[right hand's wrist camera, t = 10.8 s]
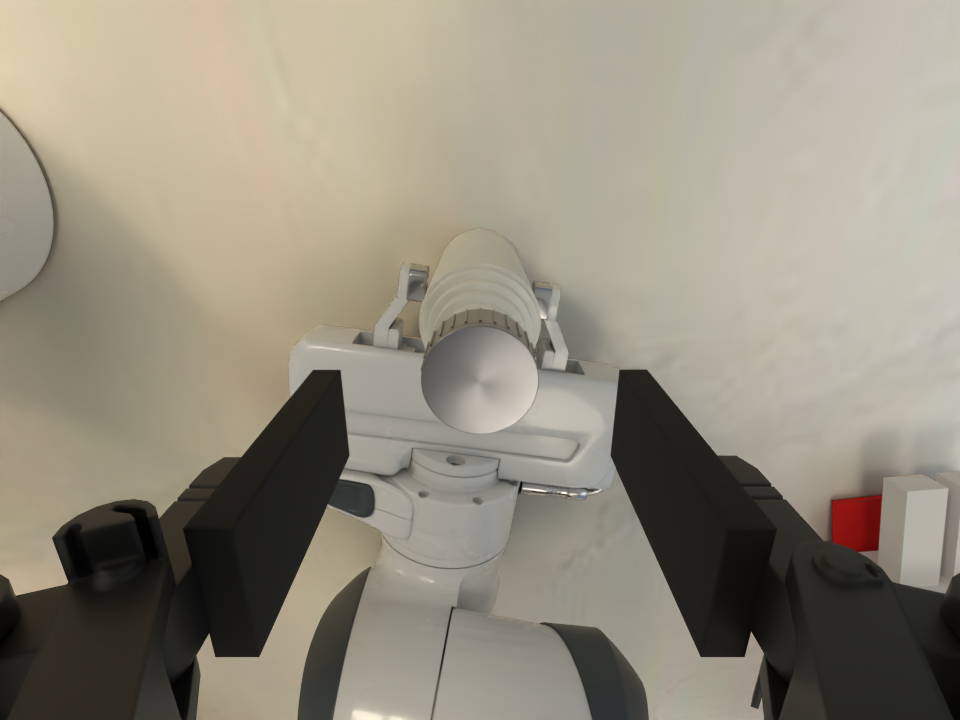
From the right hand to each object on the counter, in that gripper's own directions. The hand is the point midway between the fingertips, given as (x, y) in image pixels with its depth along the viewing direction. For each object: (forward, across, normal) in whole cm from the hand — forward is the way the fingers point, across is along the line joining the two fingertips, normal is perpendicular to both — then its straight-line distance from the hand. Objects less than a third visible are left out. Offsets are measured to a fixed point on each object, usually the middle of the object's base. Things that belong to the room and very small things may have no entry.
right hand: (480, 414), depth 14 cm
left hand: (+15, 0, -1) cm, 15 cm away
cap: (+3, 0, 0) cm, 3 cm away
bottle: (+21, 0, 0) cm, 21 cm away
